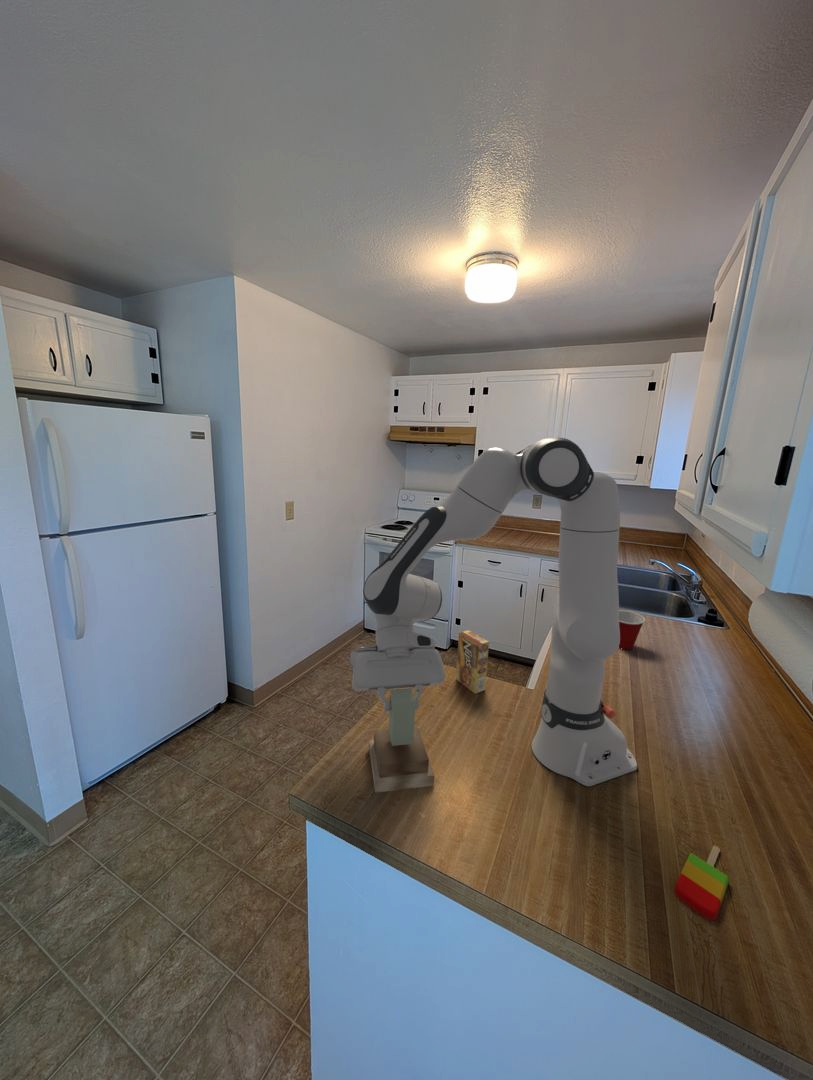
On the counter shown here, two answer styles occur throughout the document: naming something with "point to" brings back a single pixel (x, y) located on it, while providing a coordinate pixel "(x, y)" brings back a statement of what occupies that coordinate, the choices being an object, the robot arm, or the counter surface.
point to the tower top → (400, 755)
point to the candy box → (472, 661)
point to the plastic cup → (629, 628)
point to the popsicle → (702, 885)
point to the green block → (402, 716)
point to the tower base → (398, 777)
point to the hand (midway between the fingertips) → (401, 709)
